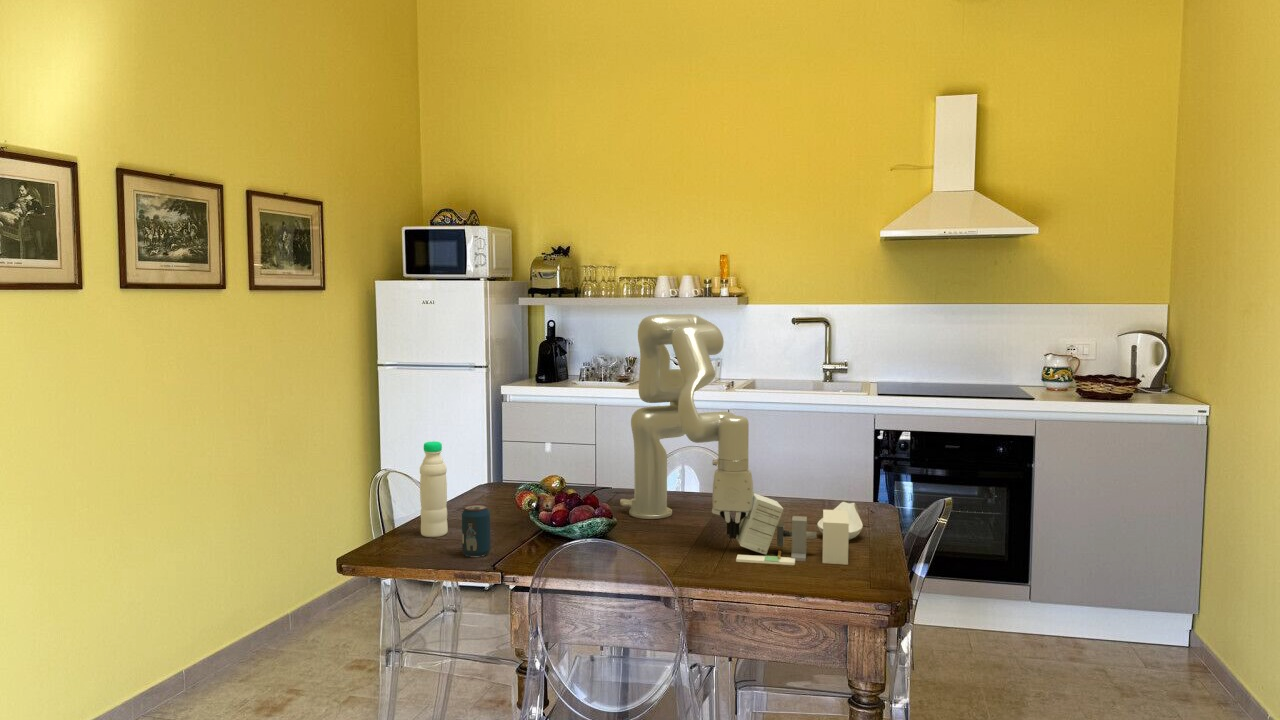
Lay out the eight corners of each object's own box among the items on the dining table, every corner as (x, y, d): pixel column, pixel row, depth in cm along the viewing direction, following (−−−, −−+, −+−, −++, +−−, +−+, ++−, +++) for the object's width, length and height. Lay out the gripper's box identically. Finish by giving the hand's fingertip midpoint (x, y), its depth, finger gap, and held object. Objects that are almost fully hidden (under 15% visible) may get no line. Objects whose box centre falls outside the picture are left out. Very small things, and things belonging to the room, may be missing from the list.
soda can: (487, 548, 232) (487, 502, 231) (493, 556, 225) (492, 508, 224) (460, 551, 229) (459, 504, 228) (464, 559, 223) (464, 511, 222)
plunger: (775, 557, 221) (776, 531, 220) (778, 545, 231) (778, 520, 231) (815, 559, 219) (816, 533, 218) (816, 547, 229) (816, 522, 229)
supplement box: (734, 537, 233) (751, 491, 232) (760, 547, 233) (778, 501, 233) (739, 546, 225) (757, 498, 225) (766, 555, 226) (784, 508, 225)
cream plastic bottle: (415, 534, 245) (413, 442, 243) (437, 529, 250) (436, 439, 248) (430, 539, 240) (429, 445, 238) (452, 534, 246) (451, 442, 244)
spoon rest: (858, 546, 235) (859, 519, 234) (813, 541, 239) (813, 515, 238) (871, 524, 257) (871, 499, 256) (829, 520, 261) (829, 495, 260)
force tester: (736, 561, 221) (736, 521, 220) (742, 543, 236) (742, 505, 236) (848, 568, 216) (849, 526, 215) (846, 549, 231) (847, 510, 230)
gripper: (701, 467, 226) (701, 539, 228) (762, 469, 223) (761, 542, 225) (705, 461, 234) (705, 532, 235) (764, 463, 231) (764, 535, 232)
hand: (733, 537), depth 230 cm, fingers closed
